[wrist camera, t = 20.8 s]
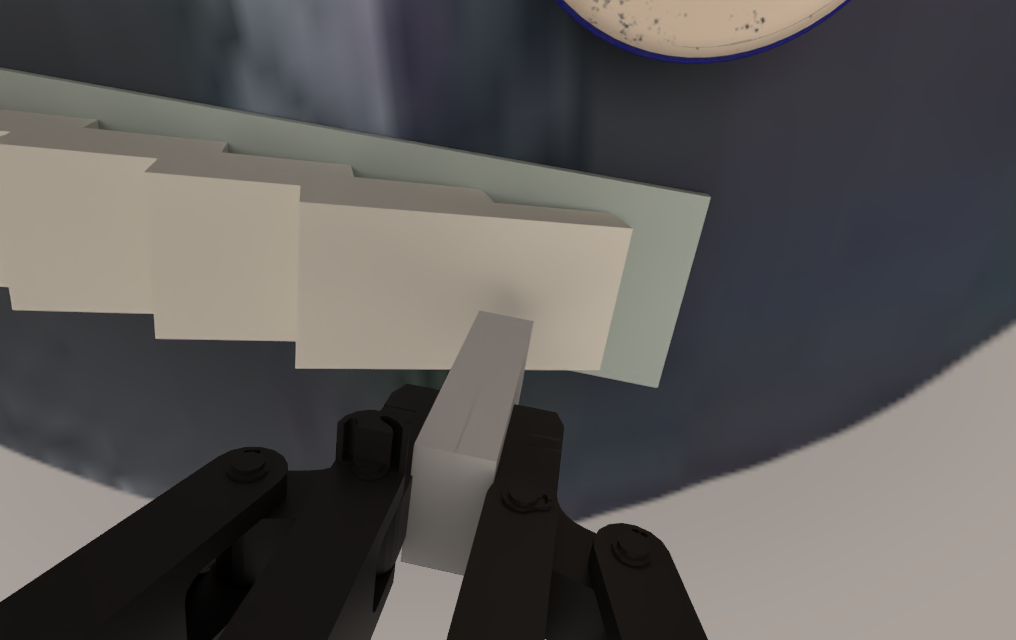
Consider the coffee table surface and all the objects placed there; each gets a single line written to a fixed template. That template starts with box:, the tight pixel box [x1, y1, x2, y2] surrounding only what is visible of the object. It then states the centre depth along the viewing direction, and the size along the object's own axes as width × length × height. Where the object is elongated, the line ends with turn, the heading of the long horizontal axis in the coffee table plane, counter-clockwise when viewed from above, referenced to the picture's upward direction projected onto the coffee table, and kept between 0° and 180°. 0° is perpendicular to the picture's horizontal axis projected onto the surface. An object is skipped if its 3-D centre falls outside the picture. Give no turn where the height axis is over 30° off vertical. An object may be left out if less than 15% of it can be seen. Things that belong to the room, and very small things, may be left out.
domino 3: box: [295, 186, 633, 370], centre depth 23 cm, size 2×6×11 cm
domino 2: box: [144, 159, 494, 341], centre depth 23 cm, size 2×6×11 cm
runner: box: [0, 67, 711, 388], centre depth 26 cm, size 30×8×1 cm, turn 81°
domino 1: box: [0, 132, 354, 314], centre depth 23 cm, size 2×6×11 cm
